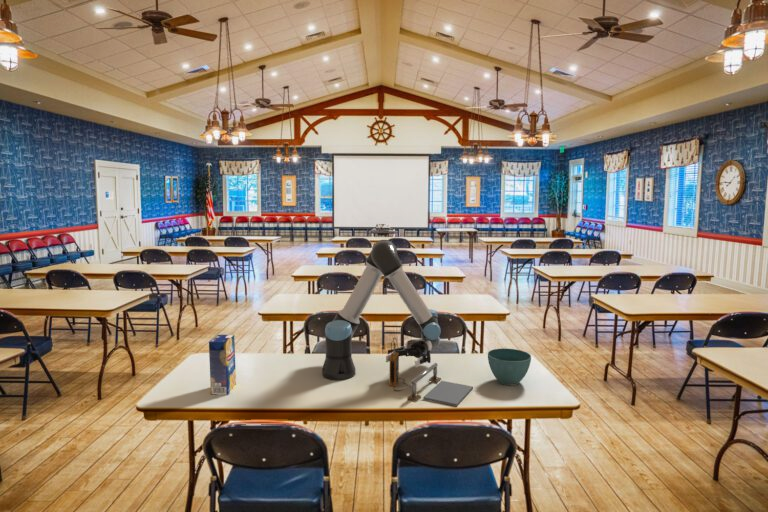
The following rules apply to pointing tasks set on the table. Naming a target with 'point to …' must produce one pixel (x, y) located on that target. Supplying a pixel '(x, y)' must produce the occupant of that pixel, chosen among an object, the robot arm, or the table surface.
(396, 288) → the robot arm
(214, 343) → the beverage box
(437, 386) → the mat
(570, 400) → the table surface
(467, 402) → the table surface
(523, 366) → the teal bowl
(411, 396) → the bent rod hurdle
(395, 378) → the multimeter
